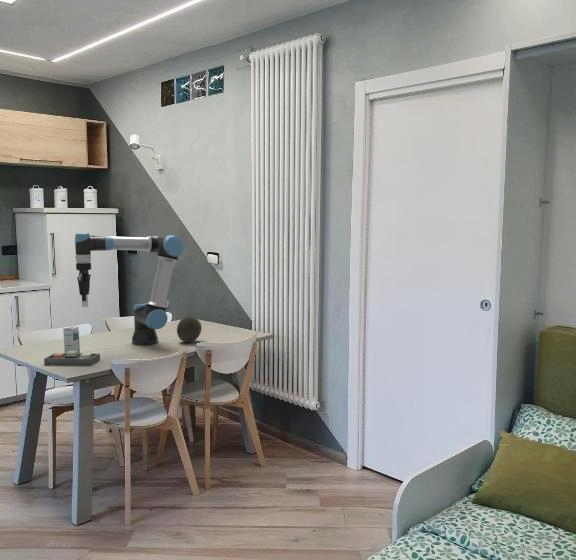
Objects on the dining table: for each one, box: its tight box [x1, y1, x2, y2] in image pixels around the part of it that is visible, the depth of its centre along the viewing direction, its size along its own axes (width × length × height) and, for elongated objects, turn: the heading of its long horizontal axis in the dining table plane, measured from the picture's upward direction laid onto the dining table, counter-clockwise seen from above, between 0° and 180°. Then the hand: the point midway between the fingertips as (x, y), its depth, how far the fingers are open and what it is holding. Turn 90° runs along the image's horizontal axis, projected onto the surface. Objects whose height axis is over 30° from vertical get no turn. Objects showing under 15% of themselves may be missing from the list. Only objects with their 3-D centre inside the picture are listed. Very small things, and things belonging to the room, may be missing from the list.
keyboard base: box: [43, 352, 101, 366], centre depth 302 cm, size 24×12×4 cm, turn 88°
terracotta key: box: [53, 352, 65, 358], centre depth 302 cm, size 4×4×2 cm
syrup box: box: [62, 325, 81, 353], centre depth 320 cm, size 6×6×14 cm
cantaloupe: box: [176, 316, 202, 344], centre depth 349 cm, size 14×14×15 cm
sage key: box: [66, 351, 78, 357], centre depth 302 cm, size 4×4×2 cm
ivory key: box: [80, 352, 92, 359], centre depth 301 cm, size 4×4×2 cm
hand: (85, 306), depth 313 cm, fingers closed
